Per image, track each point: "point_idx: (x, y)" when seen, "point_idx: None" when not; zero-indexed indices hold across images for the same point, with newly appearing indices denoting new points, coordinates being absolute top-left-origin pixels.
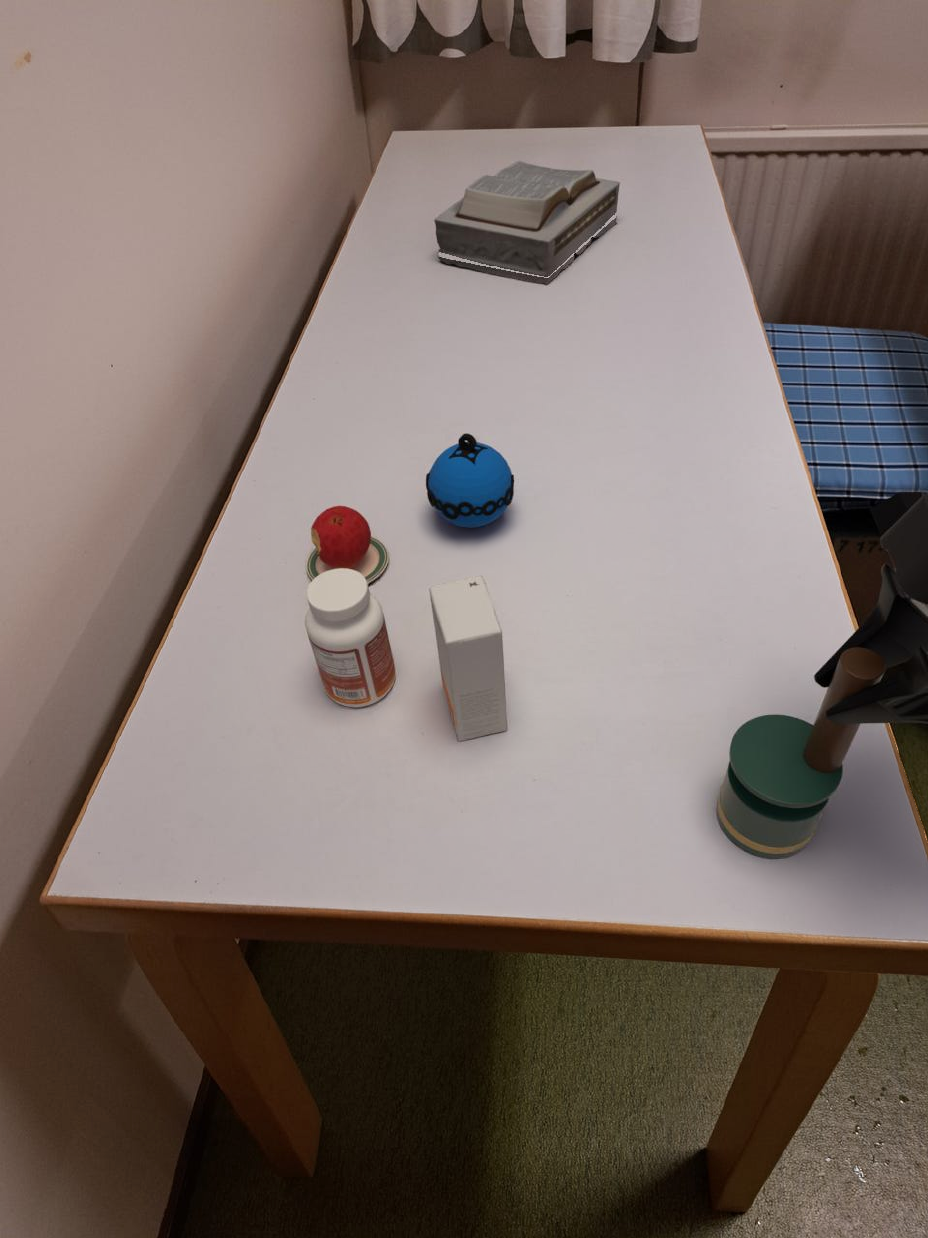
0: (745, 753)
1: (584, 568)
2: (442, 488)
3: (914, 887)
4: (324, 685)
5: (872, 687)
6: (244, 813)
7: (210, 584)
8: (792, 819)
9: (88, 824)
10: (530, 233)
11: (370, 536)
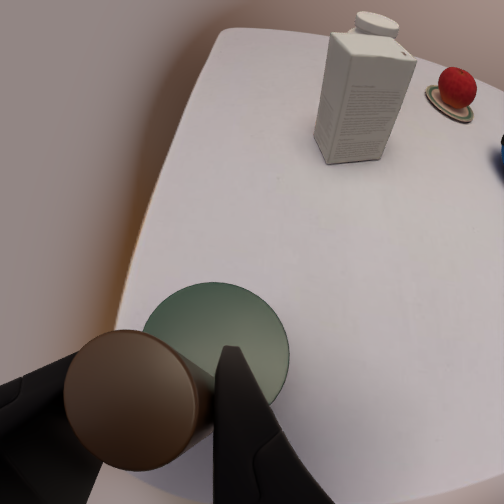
0: (222, 301)
1: (501, 246)
2: None
3: (139, 476)
4: None
5: (54, 390)
6: (258, 59)
7: None
8: None
9: (255, 28)
10: None
11: (465, 99)
